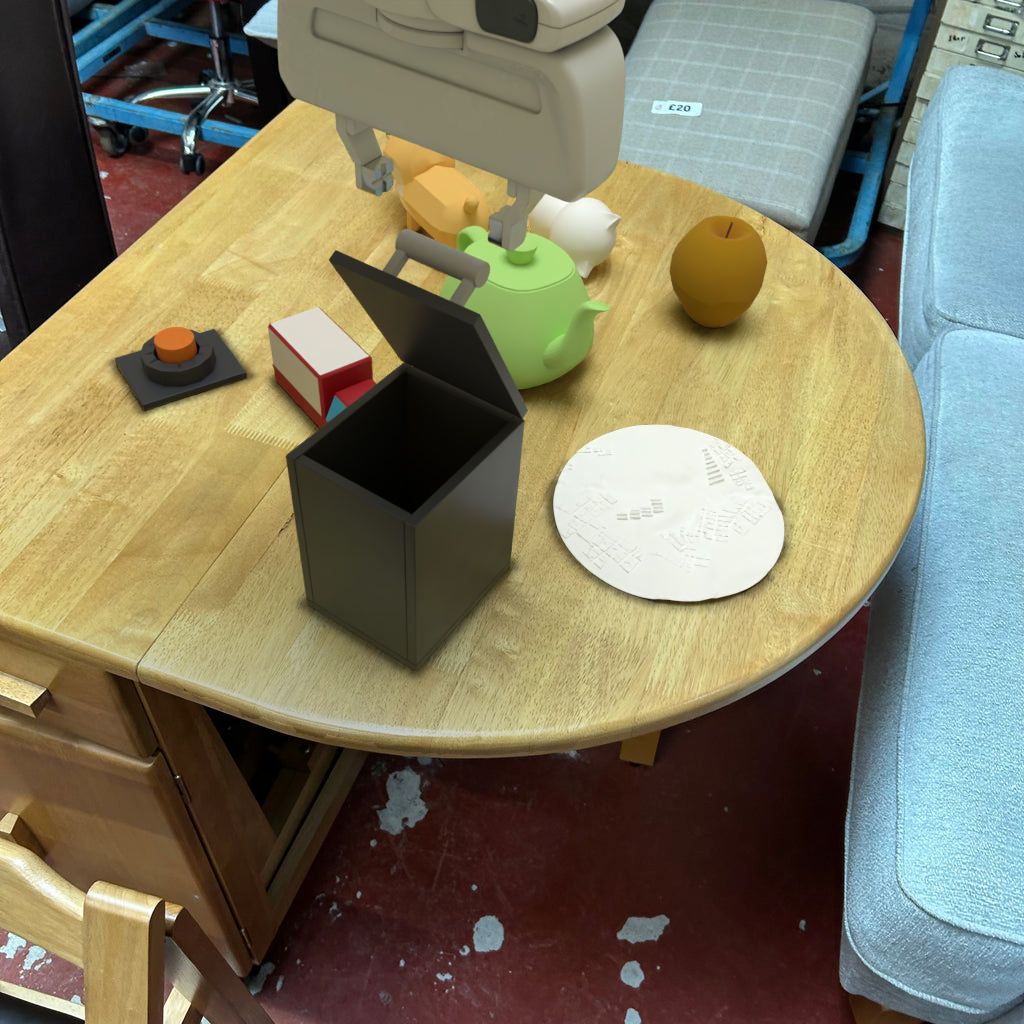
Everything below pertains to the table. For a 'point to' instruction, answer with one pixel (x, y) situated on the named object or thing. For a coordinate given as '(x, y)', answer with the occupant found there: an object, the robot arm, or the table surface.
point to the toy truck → (319, 364)
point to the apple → (718, 270)
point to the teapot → (530, 306)
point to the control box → (179, 371)
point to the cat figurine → (577, 229)
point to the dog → (434, 192)
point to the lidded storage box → (406, 510)
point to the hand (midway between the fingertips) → (438, 215)
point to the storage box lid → (434, 318)
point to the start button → (175, 345)
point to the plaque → (668, 514)
